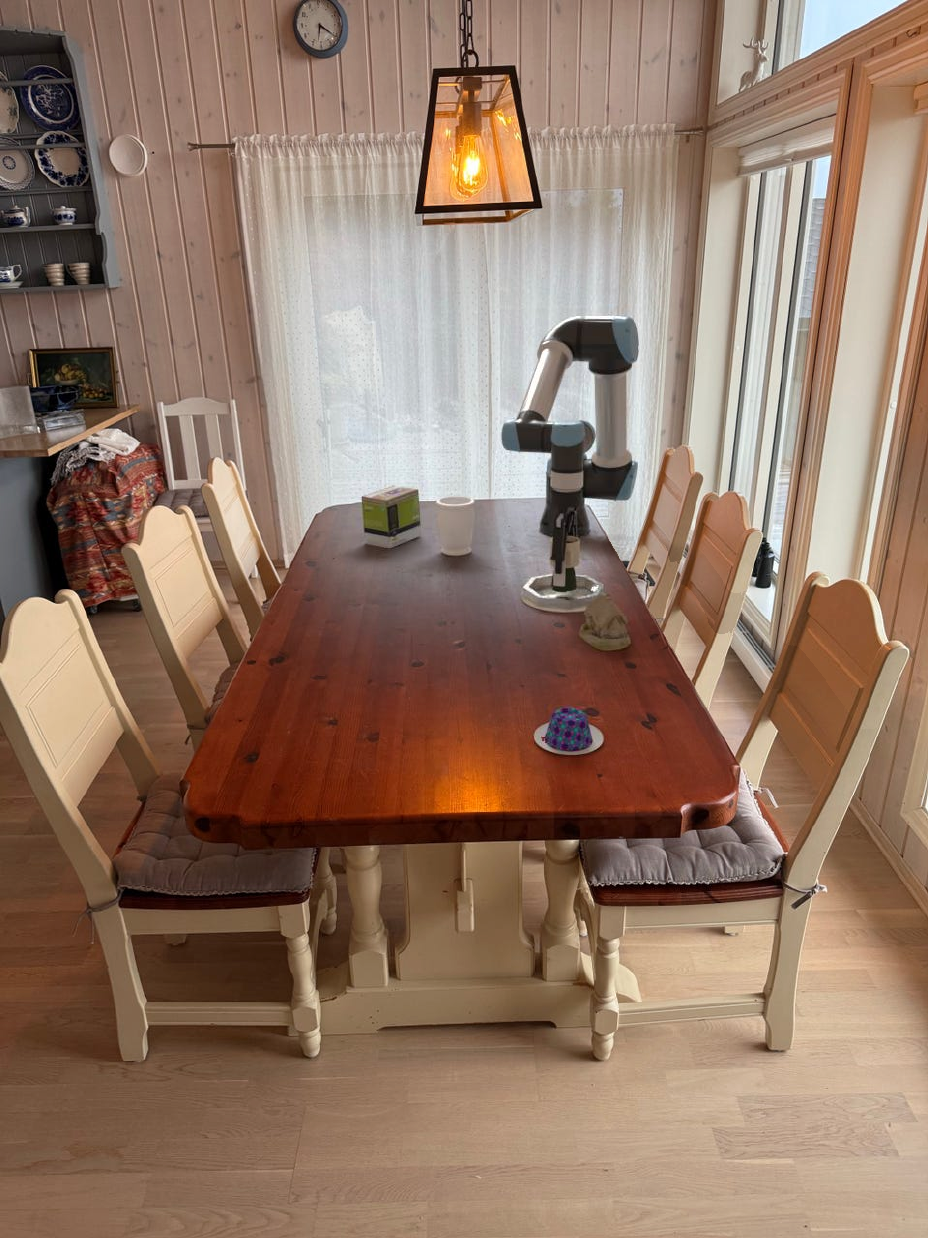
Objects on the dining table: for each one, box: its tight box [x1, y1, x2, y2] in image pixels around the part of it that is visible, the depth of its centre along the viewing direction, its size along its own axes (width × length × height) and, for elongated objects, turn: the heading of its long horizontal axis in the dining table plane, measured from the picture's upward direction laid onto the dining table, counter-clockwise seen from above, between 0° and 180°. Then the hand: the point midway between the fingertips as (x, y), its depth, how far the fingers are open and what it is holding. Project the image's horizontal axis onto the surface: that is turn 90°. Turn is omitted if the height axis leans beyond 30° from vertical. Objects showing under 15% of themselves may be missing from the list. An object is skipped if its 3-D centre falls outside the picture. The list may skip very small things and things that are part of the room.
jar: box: [436, 496, 475, 557], centre depth 250 cm, size 11×10×15 cm
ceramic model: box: [578, 594, 632, 651], centre depth 193 cm, size 14×11×10 cm
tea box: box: [361, 485, 422, 549], centre depth 262 cm, size 15×10×15 cm
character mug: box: [549, 536, 581, 592], centre depth 215 cm, size 11×7×13 cm, turn 12°
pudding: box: [533, 706, 605, 756], centre depth 153 cm, size 12×12×5 cm
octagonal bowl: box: [520, 573, 607, 614], centre depth 218 cm, size 21×21×3 cm
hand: (563, 579), depth 216 cm, fingers closed on character mug, 9 cm apart
